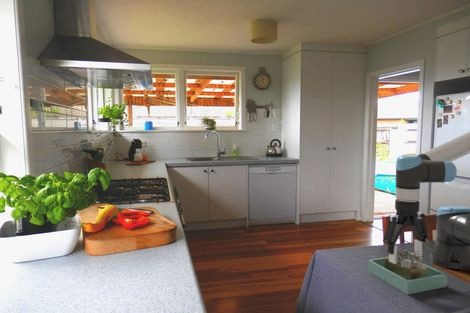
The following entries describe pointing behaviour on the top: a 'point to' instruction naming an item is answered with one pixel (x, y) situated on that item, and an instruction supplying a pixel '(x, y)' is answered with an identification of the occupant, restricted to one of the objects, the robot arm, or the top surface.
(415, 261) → the egg carton
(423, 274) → the tan cardboard block
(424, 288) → the tote
